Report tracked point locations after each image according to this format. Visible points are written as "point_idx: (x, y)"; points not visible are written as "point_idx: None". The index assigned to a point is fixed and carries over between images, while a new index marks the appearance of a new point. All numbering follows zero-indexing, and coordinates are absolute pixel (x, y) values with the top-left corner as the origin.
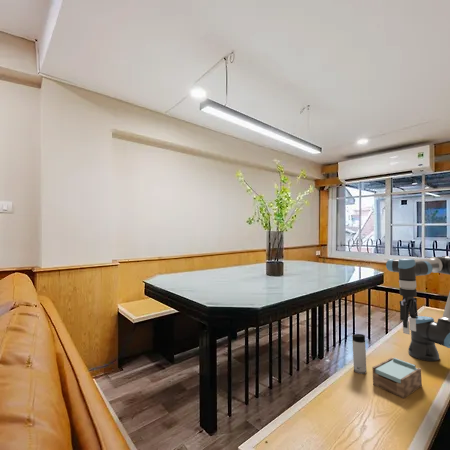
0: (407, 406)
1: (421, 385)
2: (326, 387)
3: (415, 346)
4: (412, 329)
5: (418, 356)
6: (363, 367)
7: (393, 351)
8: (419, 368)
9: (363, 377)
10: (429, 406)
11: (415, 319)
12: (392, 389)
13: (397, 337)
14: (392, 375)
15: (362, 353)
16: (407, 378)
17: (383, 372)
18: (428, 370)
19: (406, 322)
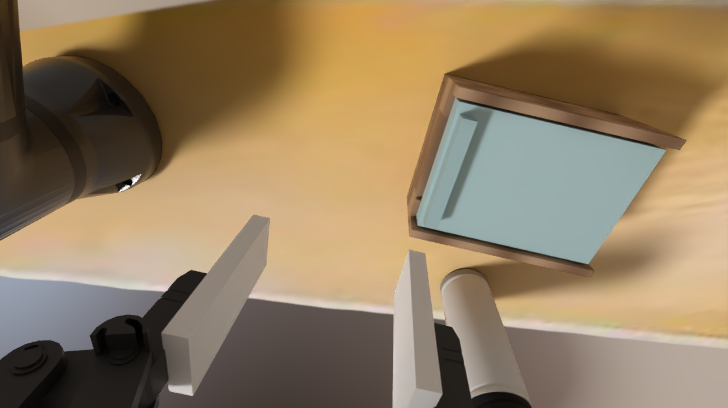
0: (687, 88)
1: (447, 74)
2: (659, 332)
3: (109, 170)
4: (262, 251)
5: (152, 141)
6: (487, 290)
7: (177, 233)
8: (466, 93)
9: (510, 267)
10: (643, 5)
11: (175, 324)
12: None
13: (13, 249)
14: (630, 191)
15: (506, 343)
16: (626, 125)
17: (610, 229)
18: (249, 77)
19: (455, 396)
